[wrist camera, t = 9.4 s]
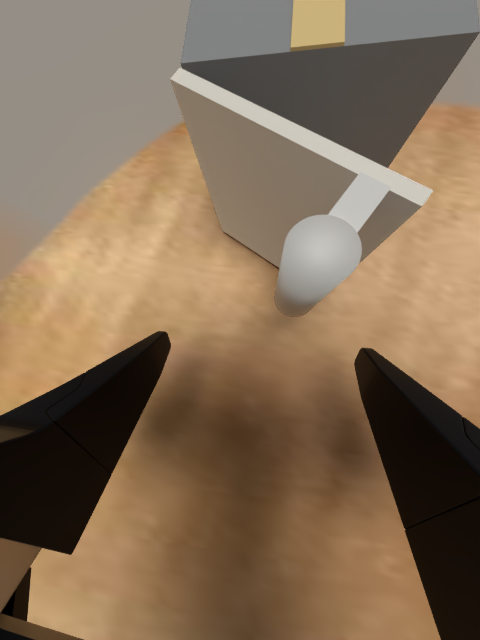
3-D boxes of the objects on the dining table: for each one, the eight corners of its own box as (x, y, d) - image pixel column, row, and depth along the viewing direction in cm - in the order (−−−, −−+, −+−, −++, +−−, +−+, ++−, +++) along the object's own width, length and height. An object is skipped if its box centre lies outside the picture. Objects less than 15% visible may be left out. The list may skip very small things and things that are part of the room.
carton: (347, 226, 16) (483, 26, 6) (227, 225, 17) (179, 59, 7) (348, 172, 17) (470, -85, 7) (232, 175, 18) (195, -37, 8)
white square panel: (292, 337, 15) (350, 310, 5) (193, 265, 17) (92, 142, 7) (327, 290, 15) (449, 175, 5) (226, 224, 17) (174, 48, 7)
